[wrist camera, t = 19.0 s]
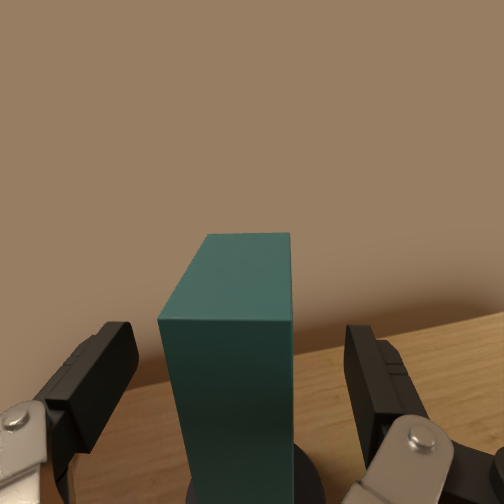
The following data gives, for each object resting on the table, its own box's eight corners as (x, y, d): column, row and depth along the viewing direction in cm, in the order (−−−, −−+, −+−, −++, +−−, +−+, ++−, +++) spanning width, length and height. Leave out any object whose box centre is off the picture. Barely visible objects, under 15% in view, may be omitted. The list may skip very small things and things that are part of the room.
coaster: (166, 587, 14) (164, 580, 13) (204, 434, 20) (203, 427, 20) (334, 604, 13) (335, 597, 13) (318, 440, 19) (318, 433, 19)
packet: (211, 570, 14) (155, 318, 8) (232, 437, 19) (207, 233, 14) (294, 578, 13) (293, 319, 8) (292, 440, 19) (289, 231, 13)
